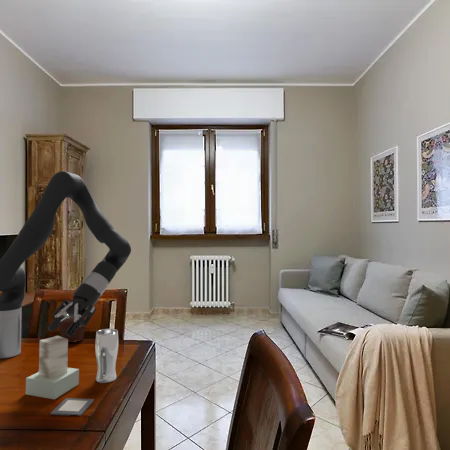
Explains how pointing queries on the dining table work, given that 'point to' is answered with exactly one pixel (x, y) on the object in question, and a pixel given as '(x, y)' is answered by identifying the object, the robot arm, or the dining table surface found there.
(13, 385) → the dining table surface
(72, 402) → the tile
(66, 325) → the muffin
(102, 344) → the beer glass
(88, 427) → the dining table surface
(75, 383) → the sage base block
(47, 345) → the ivory block
